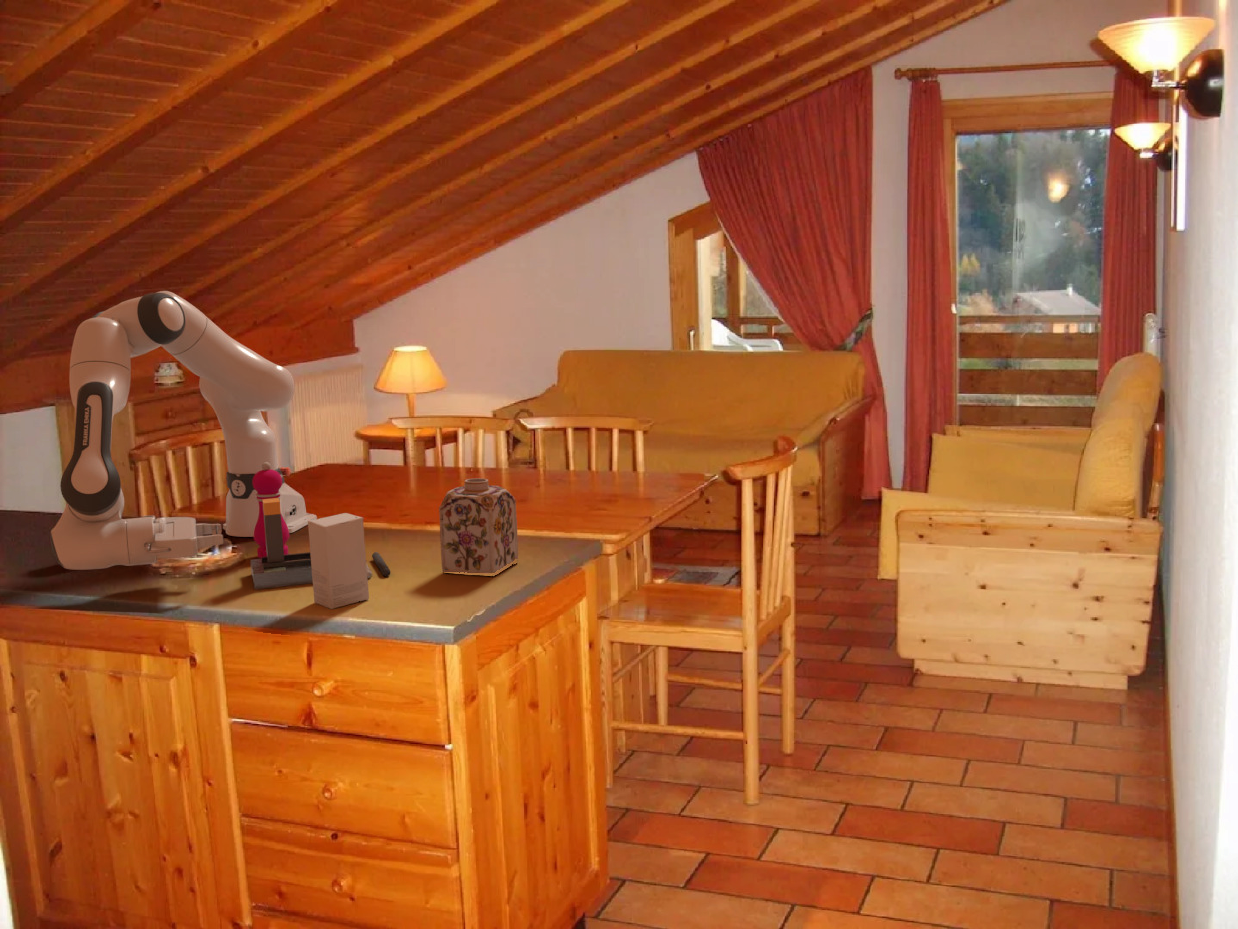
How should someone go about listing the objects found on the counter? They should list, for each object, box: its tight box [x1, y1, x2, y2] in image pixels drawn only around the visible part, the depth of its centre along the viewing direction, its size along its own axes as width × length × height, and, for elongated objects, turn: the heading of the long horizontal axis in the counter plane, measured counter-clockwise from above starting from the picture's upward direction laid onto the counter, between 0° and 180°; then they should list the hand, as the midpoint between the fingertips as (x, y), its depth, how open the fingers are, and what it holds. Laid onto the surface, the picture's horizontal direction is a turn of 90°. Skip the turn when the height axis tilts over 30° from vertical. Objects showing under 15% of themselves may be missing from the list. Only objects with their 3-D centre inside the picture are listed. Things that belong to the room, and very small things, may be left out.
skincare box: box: [307, 512, 370, 610], centre depth 228 cm, size 8×7×16 cm
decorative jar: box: [438, 477, 519, 573], centre depth 249 cm, size 12×12×18 cm
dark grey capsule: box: [366, 551, 392, 579], centre depth 252 cm, size 16×5×2 cm, turn 19°
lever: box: [262, 498, 284, 563], centre depth 245 cm, size 3×4×12 cm
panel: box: [250, 551, 313, 590], centre depth 248 cm, size 18×12×4 cm, turn 109°
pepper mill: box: [252, 462, 290, 559], centre depth 264 cm, size 7×7×20 cm
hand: (222, 533), depth 242 cm, fingers open, 8 cm apart
